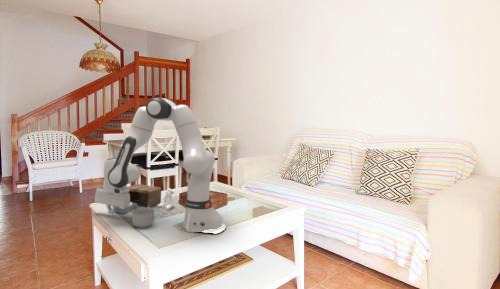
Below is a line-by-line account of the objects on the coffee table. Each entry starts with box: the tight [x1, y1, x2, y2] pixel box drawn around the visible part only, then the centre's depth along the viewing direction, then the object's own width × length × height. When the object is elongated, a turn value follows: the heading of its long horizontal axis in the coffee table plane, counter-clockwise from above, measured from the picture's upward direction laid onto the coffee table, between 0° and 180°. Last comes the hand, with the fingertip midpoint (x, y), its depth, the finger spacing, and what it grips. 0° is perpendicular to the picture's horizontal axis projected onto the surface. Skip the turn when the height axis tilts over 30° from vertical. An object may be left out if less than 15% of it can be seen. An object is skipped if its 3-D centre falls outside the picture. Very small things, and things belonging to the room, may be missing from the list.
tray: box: [114, 202, 138, 215], centre depth 164 cm, size 12×6×4 cm, turn 164°
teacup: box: [130, 206, 156, 229], centre depth 144 cm, size 14×11×8 cm
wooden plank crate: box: [127, 183, 162, 208], centre depth 178 cm, size 18×12×10 cm, turn 74°
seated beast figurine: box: [156, 187, 175, 212], centre depth 175 cm, size 10×9×12 cm
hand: (111, 213), depth 154 cm, fingers closed
